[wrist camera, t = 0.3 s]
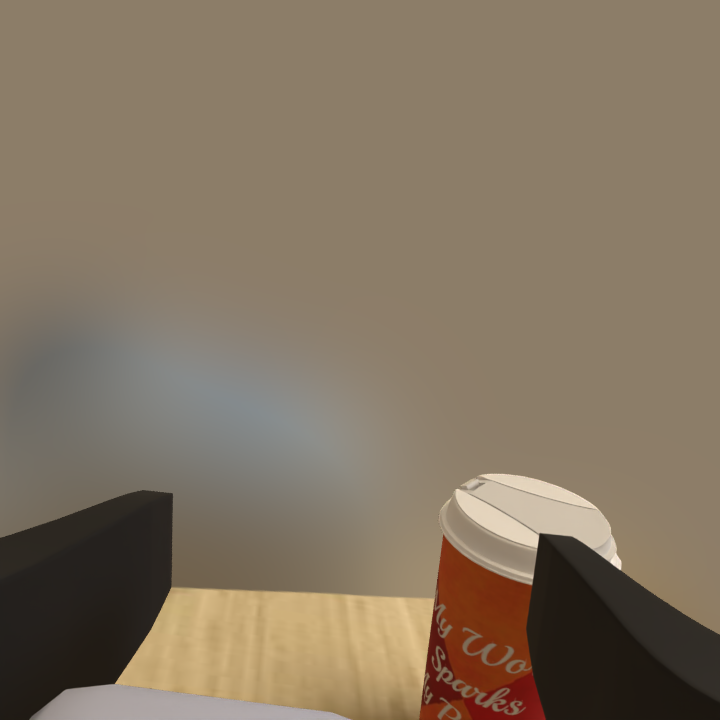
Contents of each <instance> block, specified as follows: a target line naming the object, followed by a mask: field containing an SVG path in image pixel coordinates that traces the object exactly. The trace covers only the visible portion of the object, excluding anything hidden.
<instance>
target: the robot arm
mask: <svg viewBox="0 0 720 720" xmlns="http://www.w3.org/2000/svg"><path fill="white" fill-rule="evenodd" d="M172 504H173V494H172V493H164V492H155V491H145V490H142V491H137V492H133V493H129V494H126V495H123V496H120V497H117V498H114V499H111V500H108V501H106V502H103V503H100V504H98V505H95V506H92V507H90V508H87V509H84V510H81V511H78V512H76V513H73V514H70V515H68V516H65V517H62V518H60V519H57V520H54V521H51V522H48V523H45V524H42V525H39V526H36V527H33V528H30V529H27V530H24V531H21V532H18V533H15V534H12V535H9V536H5V537H2V538H0V720H351V719H348V718H346V717H343V716H340V715H337V714H335V713H332V712H325V711H317V710H309V709H302V708H294V707H286V706H279V705H271V704H263V703H256V702H248V701H240V700H233V699H225V698H217V697H210V696H202V695H194V694H187V693H179V692H171V691H164V690H156V689H148V688H141V687H133V686H125V685H118V684H115V682H116V681H117V680H118V678H119V677H120V675H121V674H122V672H123V671H124V669H125V668H126V666H127V665H128V663H129V662H130V660H131V659H132V657H133V656H134V654H135V653H136V651H137V650H138V648H139V647H140V645H141V644H142V642H143V641H144V639H145V638H146V636H147V635H148V633H149V632H150V630H151V628H152V626H153V624H154V622H155V620H156V618H157V616H158V614H159V612H160V610H161V608H162V606H163V604H164V602H165V600H166V597H167V595H168V593H169V591H170V589H171V577H172V575H171V574H172V572H171V571H172V510H173V507H172V506H173V505H172ZM526 633H527V640H528V647H529V654H530V660H531V666H532V672H533V677H534V681H535V684H536V688H537V691H538V695H539V698H540V702H541V705H542V708H543V712H544V715H545V719H546V720H720V635H719V634H717V633H715V632H714V631H712V630H710V629H708V628H706V627H704V626H703V625H701V624H699V623H698V622H696V621H694V620H693V619H691V618H689V617H688V616H686V615H684V614H683V613H681V612H680V611H678V610H677V609H675V608H674V607H672V606H670V605H669V604H668V603H666V602H664V601H663V600H662V599H660V598H658V597H657V596H656V595H654V594H653V593H651V592H650V591H648V590H647V589H645V588H644V587H643V586H641V585H640V584H638V583H637V582H635V581H634V580H633V579H631V578H630V577H629V576H627V575H626V574H625V573H623V572H622V571H621V570H619V569H618V568H617V567H615V566H614V565H613V564H611V563H610V562H609V561H607V560H606V559H605V558H603V557H602V556H601V555H599V554H598V553H597V552H595V551H594V550H593V549H591V548H590V547H588V546H587V545H586V544H584V543H583V542H581V541H579V540H578V539H576V538H574V537H572V536H564V535H554V534H545V533H539V541H538V548H537V555H536V562H535V569H534V576H533V583H532V590H531V597H530V604H529V611H528V618H527V625H526Z"/></svg>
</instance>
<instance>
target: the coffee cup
mask: <svg viewBox="0 0 720 720" xmlns="http://www.w3.org/2000/svg"><path fill="white" fill-rule="evenodd" d="M460 488H461V489H460V490H459V489H456V490H454V492H453V495H452V497H451V499H450V500H448V501H447V502H446V503H445V504H444V506H443V507H442V508H441V510H440V514H439V525H440V528H441V531H442V532H443V542H442V549H441V557H440V564H439V572H438V579H437V587H436V595H435V602H434V609H433V617H432V624H431V632H430V639H429V647H428V655H427V662H426V670H425V678H424V686H423V694H422V702H421V710H420V719H419V720H546V719H545V715H544V712H543V708H542V705H541V702H540V698H539V695H538V691H537V688H536V684H535V681H534V677H533V672H532V666H531V660H530V654H529V647H528V640H527V633H526V625H527V618H528V611H529V604H530V597H531V590H532V583H533V576H534V569H535V562H536V555H537V548H538V541H539V533H545V534H554V535H564V536H572V537H574V538H576V539H578V540H579V541H581V542H583V543H584V544H586V545H587V546H588V547H590V548H591V549H593V550H594V551H595V552H597V553H598V554H599V555H601V556H602V557H603V558H605V559H606V560H607V561H609V562H610V563H611V564H613V565H614V566H615V567H617V568H618V569H619V570H621V560H620V559H619V557H618V555H617V554H616V550H617V547H616V543H615V541H614V538H613V536H611V528H610V525H609V523H608V521H607V520H606V518H605V517H604V516H603V514H602V513H601V512H600V511H599V510H598V508H596V507H595V506H594V505H592V504H591V503H590V502H588V501H587V500H585V499H583V498H582V497H580V496H578V495H576V494H574V493H572V492H570V491H568V490H566V489H563V488H561V487H559V486H556V485H553V484H550V483H547V482H544V481H540V480H537V479H532V478H528V477H523V476H516V475H508V474H484V475H479V476H478V477H476V479H471V480H469V481H468V482H466V483H464V484H463V485H461V486H460Z"/></svg>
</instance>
